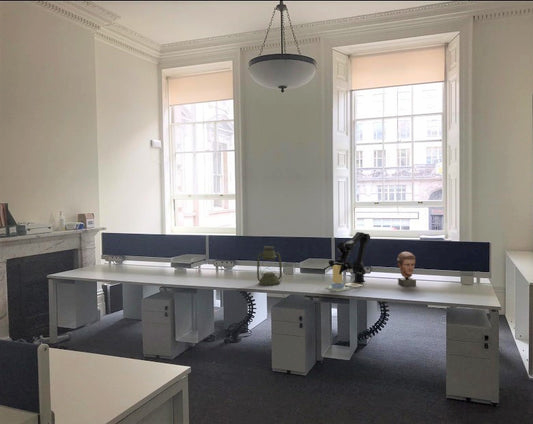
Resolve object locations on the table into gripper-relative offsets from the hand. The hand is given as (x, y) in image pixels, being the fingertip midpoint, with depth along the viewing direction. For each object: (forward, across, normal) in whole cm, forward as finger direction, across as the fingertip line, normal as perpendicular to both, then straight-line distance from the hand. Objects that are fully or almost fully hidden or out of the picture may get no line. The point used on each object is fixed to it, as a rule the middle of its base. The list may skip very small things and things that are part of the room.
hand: (336, 273), depth 348 cm
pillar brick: (+4, 0, -6) cm, 7 cm away
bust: (-22, -36, -39) cm, 57 cm away
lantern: (+18, +54, +1) cm, 57 cm away
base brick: (+7, 0, -9) cm, 12 cm away
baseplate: (+7, 0, -9) cm, 12 cm away
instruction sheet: (-6, -3, -22) cm, 23 cm away
